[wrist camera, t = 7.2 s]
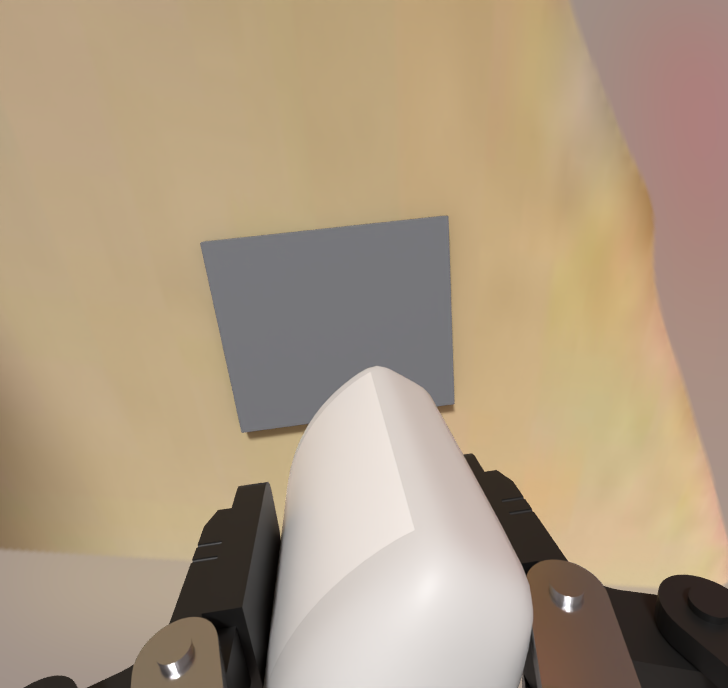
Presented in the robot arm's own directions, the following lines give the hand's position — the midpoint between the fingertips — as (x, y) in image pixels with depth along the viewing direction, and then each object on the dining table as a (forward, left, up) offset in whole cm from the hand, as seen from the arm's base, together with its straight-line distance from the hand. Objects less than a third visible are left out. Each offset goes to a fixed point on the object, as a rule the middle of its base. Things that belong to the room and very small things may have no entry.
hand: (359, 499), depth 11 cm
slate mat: (0, 0, -16) cm, 16 cm away
